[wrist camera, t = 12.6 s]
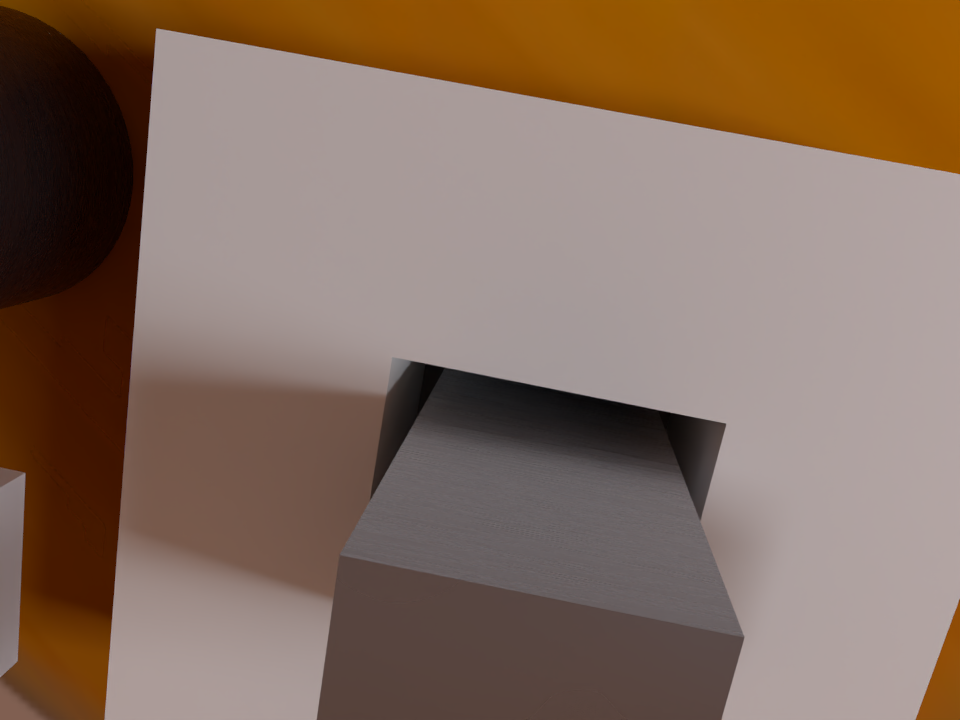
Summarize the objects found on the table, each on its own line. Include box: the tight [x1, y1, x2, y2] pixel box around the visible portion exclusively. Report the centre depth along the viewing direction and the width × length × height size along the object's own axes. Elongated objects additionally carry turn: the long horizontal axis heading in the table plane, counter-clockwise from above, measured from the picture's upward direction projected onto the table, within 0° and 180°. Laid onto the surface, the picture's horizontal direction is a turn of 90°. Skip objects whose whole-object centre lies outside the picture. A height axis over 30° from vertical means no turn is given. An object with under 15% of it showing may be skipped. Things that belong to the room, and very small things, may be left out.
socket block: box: [105, 28, 960, 720], centre depth 16 cm, size 14×14×5 cm
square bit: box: [317, 368, 745, 720], centre depth 13 cm, size 4×4×10 cm
